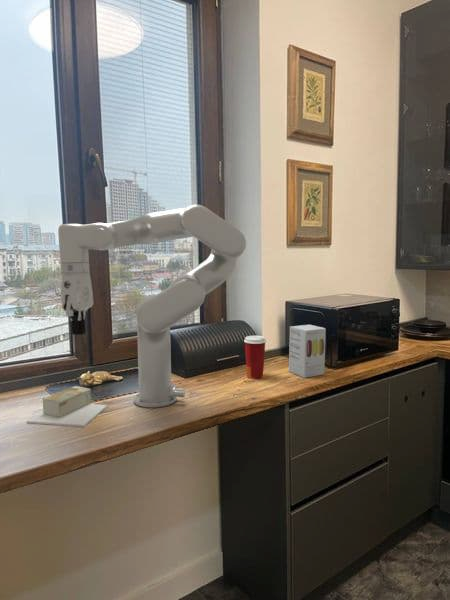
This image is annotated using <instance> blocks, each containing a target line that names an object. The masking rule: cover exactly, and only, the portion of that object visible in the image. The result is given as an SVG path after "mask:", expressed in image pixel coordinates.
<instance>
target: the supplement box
mask: <svg viewBox="0 0 450 600" xmlns="http://www.w3.org/2000/svg"><path fill="white" fill-rule="evenodd" d="M326 331H327V330H326V328H325V327H323V326H318V325H314V324H313V325H312V324H301V325H294V326H293V325H291V326H289V346H288V347H289V352H288V353H289V355H288V372H290V373H291V374H295V375H297V376H299V377H300V378H301V377H302V378H304V379H305V378H311V377H317V376H321V375H322V376H323V375H325V363H326V334H327V333H326Z"/></svg>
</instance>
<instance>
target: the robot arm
mask: <svg viewBox="0 0 450 600" xmlns="http://www.w3.org/2000/svg"><path fill="white" fill-rule="evenodd" d="M57 232H58V235H57V236H58V248H59V249H58V250H59V262H60V263H59V264H60V265H59V266H60V275H61V286H60V294H61V296H60V298H61V307H62V310H63V311H65V315H66V317H69V319H70V321H71V334H72V335H74V336H75V335H76V336H80V335H85V334H86V320H85V319H86V313H87V312H88V310H89V308H90V309H91V308H92V307H93V306H94V294H93V285H92V280H91V279H92V278H91V275H90V261H89V260H90V259H89V258H90V257H89V250H97V251H106V250H107V251H108V250H113V249H117V248H119V249H120V248H123V247H129V246H135V245H152V244H153V245H154V244H160V243H162V242H163V243H165V242H169V241H176V240H181V239H183V240H184V239H189V238H195V239H197V240H198V241H199V242H201V243H203V244H204V245H206V247H207V246H208V247H209V248H210V249H211V250H210V253H209V256H208V257H207V258H205V260H204V261H202V262H201V263H199V264H198V265H197V266H195V267H193V268H191V270H188V271H187V272H185V273H184V274H182V275H180V276H177V277H176V278H175V279H174V280H172V281H171V283H170V285H169V286H168V287H166V288H165V289H163V290H161V291H160V292H159V293H157V294H152V293H151V294H148V295H146V296H144V297H142V298H141V299H140V300H139V302H138V303H137V306H136V309H135V310H136V330H137V332H136V333H137V365H138V366H137V368H138V371H137V372H138V393H137V394H136V395H134V397H133V402H134V404H135V405H137V406H139V407H142V408H162V407H166V406H169V405H172V404H174V403H175V402H176V401H177V399H178V398H185V397H186V391H185V390H184V388H176V387H175V383H172V361H171V358H172V357H171V355H172V353H171V352H172V351H171V347H172V346H171V345H172V343H171V328H172V327H173V326H175V325H176V324H178V323H179V322H181V321H182V320H184V319H185V318H187V317H188V316H190V315H192V314H194V312H196V311H197V310H198V309H199V308H200V307H201V306H202V305H203V303H204V301H205V298H206V295H208V294H210V293H211V292H212V291H214V290H215V289H217V288H218V287H219V286H221V285H222V284H223V283H225V282H226V281H227V280H228V278H230V276H231V275H232V274H233V272H234V269H235V266H236V263H237V258H238V257H240V256H241V255H242V254H243V253H244V251H245V249H246V246H247V240H246V238H245V237H246V236H245V235H244V234H243V232H242V231H241V230H240V229H238V228H237V227H235V226H234V225H232V224H231V223H229V222H228V221H227V220H225V219H224V218H222V217H221V216H219V215H218V214H216V213H214V212H213V211H212V210H210V209H209V208H207V207H206V206H204V205H201V204H192V205H189V206H187V207H181V208H175V209H169V210H162V211H155V212H150V213H146V214H142V215H141V216H138V217H136V218H135V217H134V218H131V219H126V220H122V221H115V222H109V223H106V222H105V223H104V222H95V223H87V224H81V223H64V224H60V225H59V226H58V231H57Z"/></svg>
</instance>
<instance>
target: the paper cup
mask: <svg viewBox="0 0 450 600" xmlns="http://www.w3.org/2000/svg"><path fill="white" fill-rule="evenodd" d="M243 342H244V348H245V350H244V351H245V365H246V368H245V369H246V377H247V378H248V379H252V380H258V379H259V380H261V379H262V378H263V377H264V368H265V367H264V364H265V353H266V352H265V351H266V343H267V340H266V338H265V336H263V335H247V336H245V338H244V340H243Z"/></svg>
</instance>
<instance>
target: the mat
mask: <svg viewBox="0 0 450 600" xmlns="http://www.w3.org/2000/svg"><path fill="white" fill-rule="evenodd" d="M106 408H108V404H98V403H97V404H94V403H93V404H92V403H89V404H87V405H85V406H83V407H80V408H78V409H76V410H74V411H72V412H70V413H68V414H66V415H64V416H61V417H57V416H51V415H47V414H44V413H43V410H42V411H40V412H38V413H37V414H35V415H34V416H32V417H31V418H29V419H28V420H26V423H27V424H36V425H37V424H38V425H39V424H40V425H51V426H52V425H53V426H67V427H79V428H85V427H86V426H87V425H89V423H90V422H92V421H93V420H94V419H95V418H96V417H98V416H99V415H100V414H101V413H102V412H103V411H104V410H105V409H106Z"/></svg>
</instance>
